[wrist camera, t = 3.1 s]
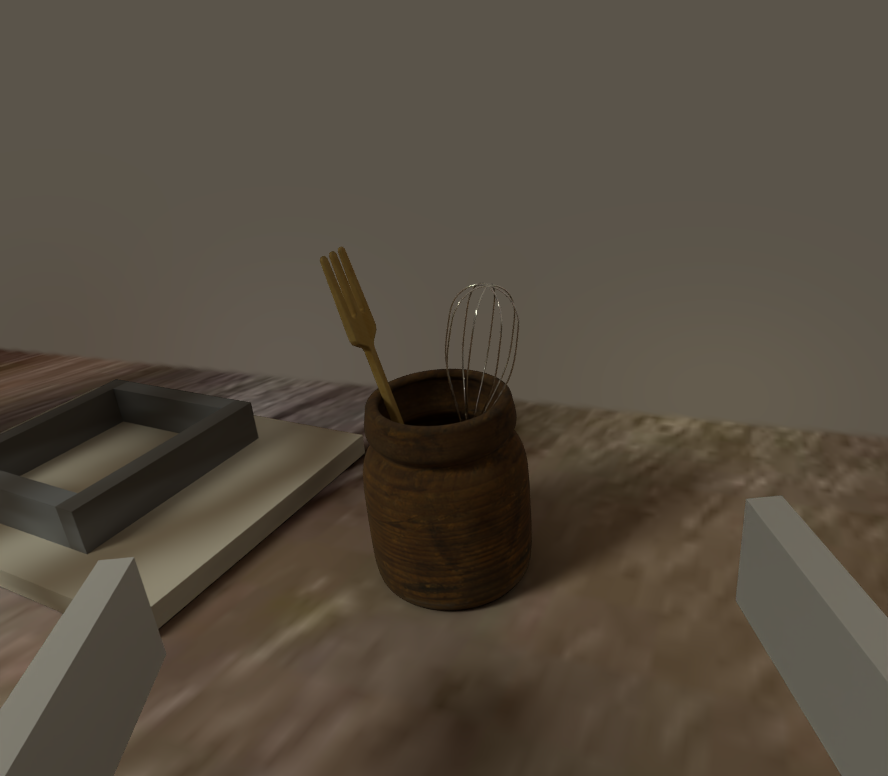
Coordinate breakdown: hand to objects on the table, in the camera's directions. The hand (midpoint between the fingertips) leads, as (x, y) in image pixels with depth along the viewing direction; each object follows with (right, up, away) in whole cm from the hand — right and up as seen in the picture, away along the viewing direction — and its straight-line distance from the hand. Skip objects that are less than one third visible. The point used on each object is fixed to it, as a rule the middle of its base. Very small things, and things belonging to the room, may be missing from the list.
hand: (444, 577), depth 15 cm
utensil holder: (0, -3, +12) cm, 12 cm away
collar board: (-16, -1, +19) cm, 25 cm away
